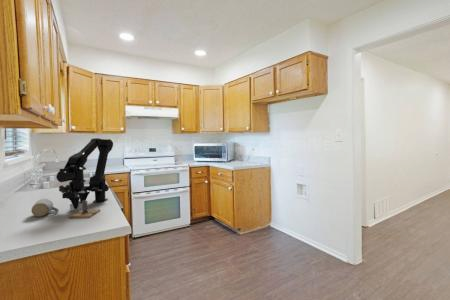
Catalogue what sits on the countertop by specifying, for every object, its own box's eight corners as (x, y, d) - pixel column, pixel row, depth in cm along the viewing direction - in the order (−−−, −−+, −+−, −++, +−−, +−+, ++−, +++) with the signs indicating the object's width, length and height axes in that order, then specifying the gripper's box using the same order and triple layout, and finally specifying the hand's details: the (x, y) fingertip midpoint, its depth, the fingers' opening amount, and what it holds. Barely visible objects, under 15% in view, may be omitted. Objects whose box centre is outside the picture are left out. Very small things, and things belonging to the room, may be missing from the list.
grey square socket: (76, 207, 132) (76, 201, 131) (87, 207, 132) (87, 200, 132) (70, 210, 126) (69, 204, 125) (81, 210, 126) (81, 203, 126)
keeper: (80, 211, 123) (79, 198, 123) (100, 211, 124) (99, 198, 123) (68, 218, 113) (68, 204, 113) (90, 217, 114) (89, 203, 113)
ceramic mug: (30, 218, 114) (30, 203, 114) (35, 213, 122) (35, 199, 121) (57, 215, 119) (56, 200, 118) (60, 211, 126) (59, 197, 126)
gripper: (72, 176, 137) (74, 203, 138) (50, 182, 118) (52, 213, 119) (92, 176, 137) (93, 202, 138) (73, 181, 119) (74, 212, 120)
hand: (79, 207), depth 129 cm, fingers closed on grey square socket, 6 cm apart
